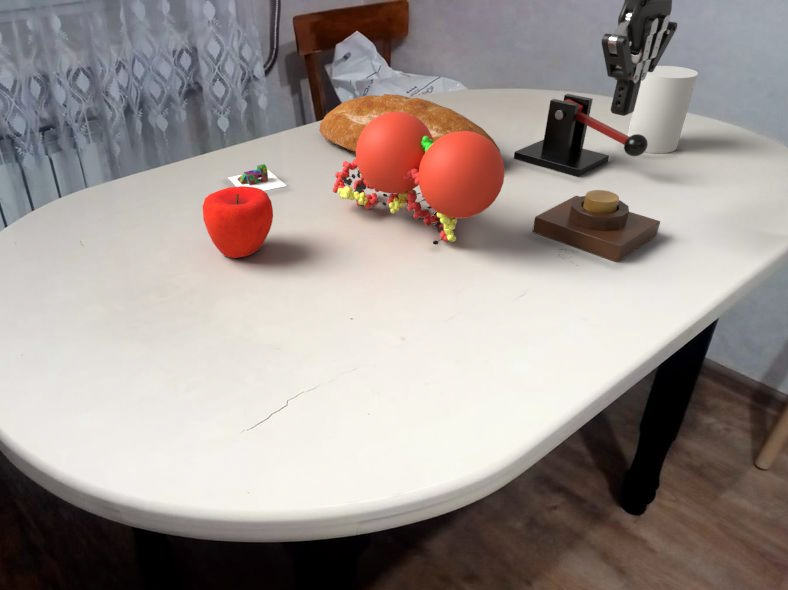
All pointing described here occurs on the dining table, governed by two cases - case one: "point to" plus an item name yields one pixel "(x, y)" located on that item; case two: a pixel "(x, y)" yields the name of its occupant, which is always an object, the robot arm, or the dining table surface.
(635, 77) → the robot arm
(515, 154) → the lever base
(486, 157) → the molecule
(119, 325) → the dining table surface
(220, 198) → the apple
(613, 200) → the bell button
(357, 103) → the bread
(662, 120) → the cup
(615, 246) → the push button box
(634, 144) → the red lever
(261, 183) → the white tray with figurine
